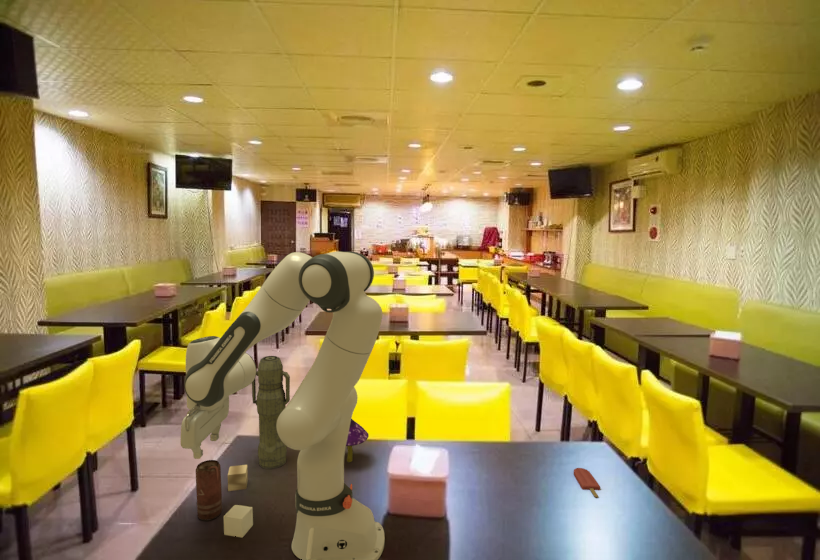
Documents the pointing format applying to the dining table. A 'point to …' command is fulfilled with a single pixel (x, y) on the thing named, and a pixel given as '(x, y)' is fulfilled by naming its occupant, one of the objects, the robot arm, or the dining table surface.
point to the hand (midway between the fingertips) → (206, 448)
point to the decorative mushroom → (355, 437)
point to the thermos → (270, 410)
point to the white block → (238, 521)
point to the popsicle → (586, 480)
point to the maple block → (237, 477)
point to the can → (208, 490)
